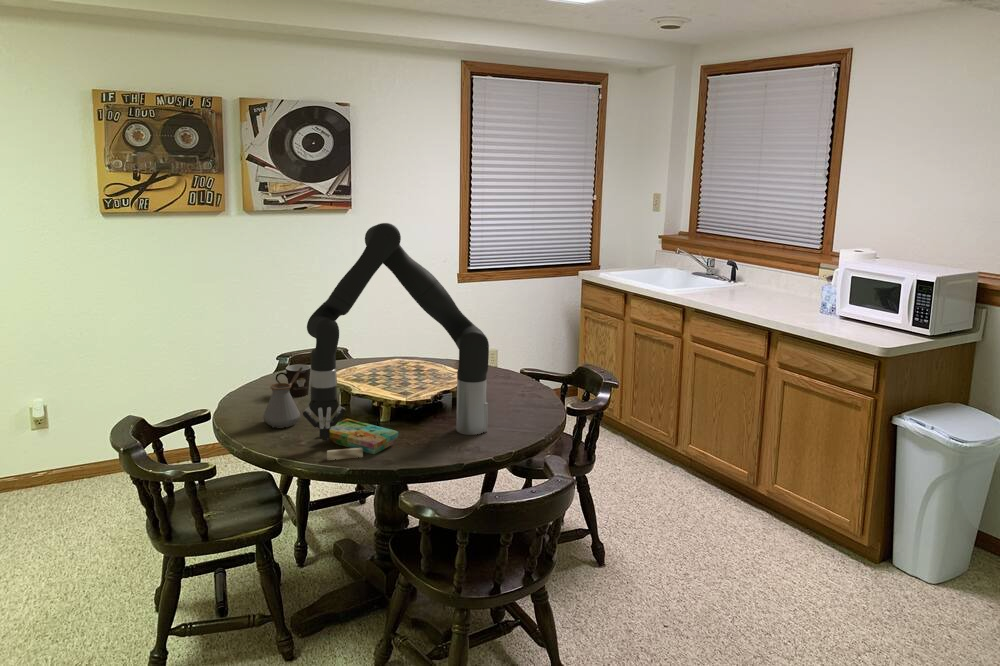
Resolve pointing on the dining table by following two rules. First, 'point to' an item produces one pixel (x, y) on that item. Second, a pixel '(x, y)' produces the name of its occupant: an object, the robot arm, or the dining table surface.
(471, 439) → the dining table surface
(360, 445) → the puzzle game
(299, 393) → the coffee mug
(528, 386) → the dining table surface
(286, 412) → the coffee pot
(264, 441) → the dining table surface
